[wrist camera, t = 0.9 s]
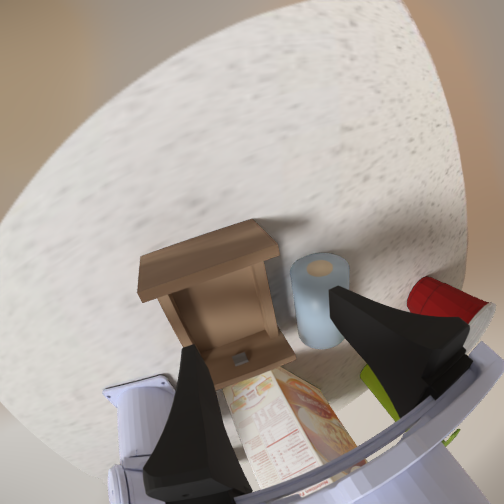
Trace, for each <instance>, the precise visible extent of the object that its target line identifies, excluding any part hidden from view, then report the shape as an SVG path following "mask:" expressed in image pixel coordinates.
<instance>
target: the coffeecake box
mask: <svg viewBox="0 0 504 504" xmlns="http://www.w3.org/2000/svg"><path fill="white" fill-rule="evenodd" d="M222 390H223V393H224V396H225V399H226V402H227V404H228V407H229V410H230V413H231V416H232V419H233V421H234V424H235V427H236V430H237V432H238V435H239V438H240V440H241V443H242V445H243V448H244V451H245V453H246V456H247V458H248V461H249V463H250V465H251V468H252V470H253V473H254V475H255V477H256V480H257V482H258V484H259V486H260V489H261V490H262V489H265V488H268V487H271V486H273V485H276V484H279V483H282V482H284V481H287V480H290V479H292V478H295V477H297V476H299V475H302V474H304V473H306V472H309V471H311V470H313V469H315V468H317V467H320V466H322V465H324V464H326V463H328V462H330V461H332V460H334V459H336V458H338V457H340V456H341V455H343V454H345V453H347V452H349V451H351V450H352V449H354V448H356V447H357V446H356V444H355V442H354V441H353V439H352V438H351V436H350V435H349V434H348V432H347V431H346V429H345V428H344V426H343V425H342V423H341V422H340V420H339V419H338V417H337V416H336V414H335V413H334V411H333V410H332V408H331V407H330V405H329V404H328V402H327V401H326V399H325V397H324V396H323V394H322V393H321V390H320V389H318V388H316V387H315V386H313V385H311V384H309V383H308V382H306V381H304V380H302V379H301V378H299V377H297V376H295V375H294V374H292V373H290V372H288V371H287V370H285V369H283V368H282V367H278V368H275V369H273V370H270V371H268V372H265V373H263V374H260V375H258V376H255V377H252V378H250V379H247V380H244V381H242V382H239V383H236V384H233V385H230V386H227V387H225V388H223V389H222ZM366 463H368V462H367V460H366V459H364V460H362V461H360V462H358V463H357V464H355V465H353V466H351V467H349V468H348V469H346V470H344V471H342V472H340V473H338V474H336V475H334V476H332V477H330V478H328V479H326V480H324V481H322V482H320V483H317V484H315V485H313V486H311V487H308V488H306V489H304V490H301V491H299V492H296V493H294V494H291V495H295V494H299V495H300V497H305V496H307V495H309V494H311V493H313V492H315V491H317V490H319V489H321V488H323V487H325V486H327V485H329V484H331V483H333V482H335V481H337V480H339V479H340V478H342V477H344V476H346V475H347V474H349V473H351V472H353V471H355V470H356V469H358V468H360V467H361V466H363V465H365V464H366ZM291 495H289V496H291ZM286 497H288V496H286ZM283 498H284V497H283ZM280 499H281V498H280Z"/></svg>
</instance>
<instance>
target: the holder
mask: <svg viewBox="0 0 504 504" xmlns="http://www.w3.org/2000/svg"><path fill="white" fill-rule="evenodd" d="M279 255H280V253H279V247H278V244H277V243H276V242H275V241H274V240H273V239H272V238H271V237H270V236H269V235H268V234H267V233H266V232H265V231H264V230H263V229H262V228H261V227H260V226H259V225H258V224H257V223H256V222H255V221H254V220H253V219H250V220H246V221H243V222H240V223H237V224H234V225H231V226H228V227H225V228H222V229H219V230H216V231H213V232H210V233H207V234H204V235H201V236H198V237H195V238H192V239H189V240H186V241H183V242H180V243H177V244H174V245H172V246H169V247H166V248H163V249H160V250H157V251H154V252H152V253H149V254H146V255H143V256H141V257H140V266H139V277H138V289H137V293H138V295H139V297H140V299H141V301H142V303H144V302H147V301H150V300H153V299H156V298H157V299H158V301H159V303H160V305H161V307H162V309H163V311H164V313H165V315H166V317H167V319H168V320H169V322H170V324H171V326H172V328H173V330H174V332H175V334H176V335H177V337H178V339H179V341H180V343H181V344H182V346H183V347H186V346H189V345H192V344H195V346H196V348H197V349H198V351H199V353H200V355H201V357H202V358H203V360H204V362H205V364H206V365H207V367H208V369H209V372H210V375H211V378H212V381H213V383H214V387H215V391H216V390H219V389H222V388H225V387H227V386H230V385H233V384H236V383H239V382H242V381H244V380H247V379H250V378H252V377H255V376H258V375H260V374H263V373H265V372H268V371H270V370H273V369H275V368H278V367H280V366H282V365H285V364H287V363H289V362H292V361H294V360H296V355H295V353H294V351H293V350H292V348H291V346H290V345H289V343H288V342H287V340H286V338H285V337H284V335H283V334H282V332H281V331H280V329H279V327H278V326H277V323H276V318H275V313H274V308H273V303H272V299H271V294H270V289H269V284H268V279H267V274H266V270H265V265H264V261H265V260H268V259H271V258H274V257H276V256H279Z"/></svg>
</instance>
